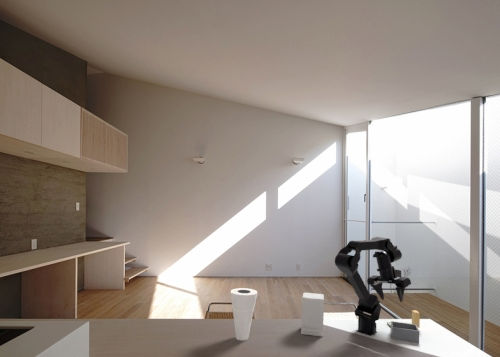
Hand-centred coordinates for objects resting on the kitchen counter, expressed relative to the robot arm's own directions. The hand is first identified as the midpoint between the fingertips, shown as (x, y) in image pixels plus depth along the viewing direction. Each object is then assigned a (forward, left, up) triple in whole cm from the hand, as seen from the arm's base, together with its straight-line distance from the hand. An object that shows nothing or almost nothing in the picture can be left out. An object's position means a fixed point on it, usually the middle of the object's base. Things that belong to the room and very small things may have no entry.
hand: (392, 300), depth 156 cm
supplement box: (-20, -32, -12) cm, 39 cm away
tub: (+8, -7, -12) cm, 16 cm away
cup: (-33, -60, -12) cm, 69 cm away
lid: (+4, +4, -12) cm, 14 cm away
